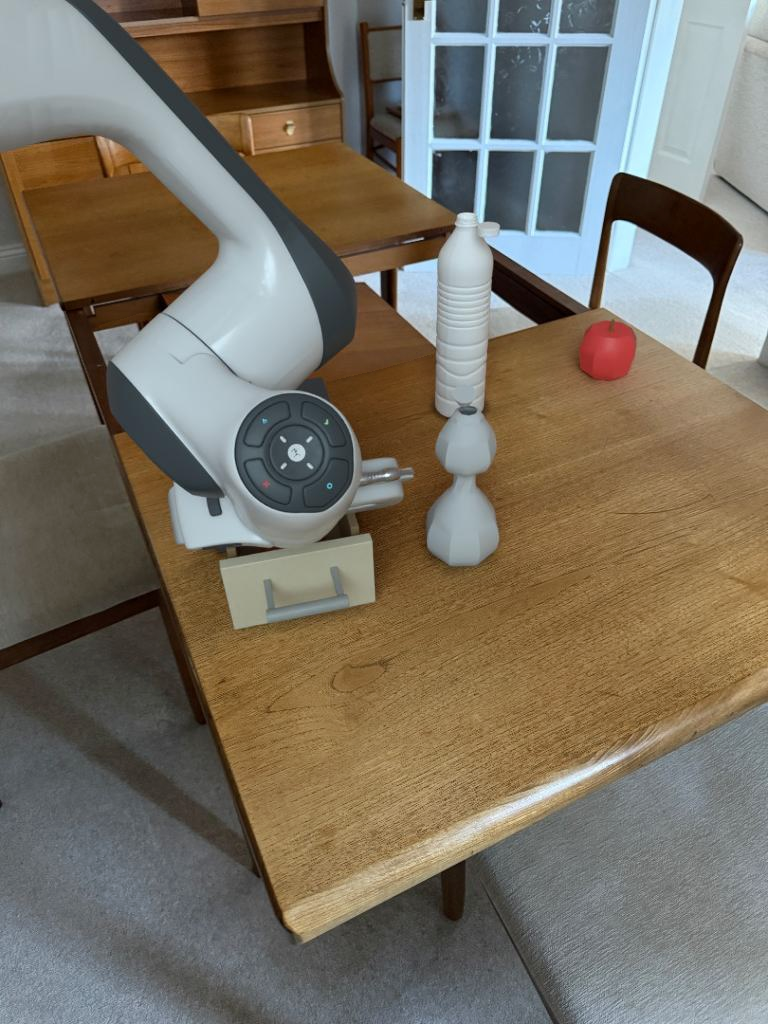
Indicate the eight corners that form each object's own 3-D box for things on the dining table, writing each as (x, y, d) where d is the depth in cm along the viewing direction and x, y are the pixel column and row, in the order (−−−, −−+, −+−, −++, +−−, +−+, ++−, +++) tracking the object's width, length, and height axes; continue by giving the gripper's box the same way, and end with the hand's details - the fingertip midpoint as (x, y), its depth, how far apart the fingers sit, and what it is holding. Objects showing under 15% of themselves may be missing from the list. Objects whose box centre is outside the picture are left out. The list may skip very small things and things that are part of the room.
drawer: (387, 639, 67) (385, 578, 62) (239, 670, 65) (224, 609, 60) (343, 503, 82) (339, 445, 77) (222, 524, 80) (209, 466, 75)
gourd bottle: (438, 520, 81) (442, 355, 68) (507, 538, 78) (525, 369, 66) (412, 567, 75) (410, 396, 63) (485, 587, 73) (500, 413, 60)
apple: (568, 361, 107) (575, 309, 102) (622, 358, 108) (632, 306, 103) (583, 388, 101) (591, 334, 96) (640, 385, 102) (652, 331, 96)
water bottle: (425, 402, 100) (427, 211, 84) (466, 389, 102) (475, 201, 86) (460, 433, 94) (469, 234, 78) (503, 419, 96) (520, 223, 80)
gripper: (411, 430, 60) (385, 461, 73) (151, 472, 56) (175, 496, 70) (426, 507, 59) (397, 523, 73) (165, 554, 56) (186, 562, 69)
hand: (287, 510), depth 71 cm, fingers closed on cup, 6 cm apart
